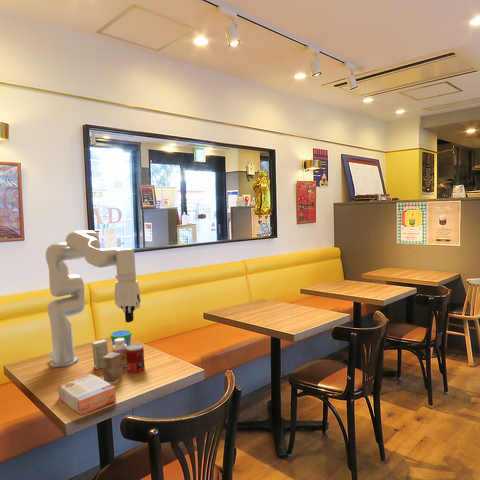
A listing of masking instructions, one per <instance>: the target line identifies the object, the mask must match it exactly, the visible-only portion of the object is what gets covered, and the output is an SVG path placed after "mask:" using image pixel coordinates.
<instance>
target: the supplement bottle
mask: <svg viewBox="0 0 480 480" xmlns="http://www.w3.org/2000/svg"><path fill="white" fill-rule="evenodd" d="M124 342H125V339H124V338H118V339H115V340H114V343H115V345H114V346H113V345H112V352H113V353H121V362H122V369H123V368H127V361H126V347H127V345H126V344H125V343H124Z"/></svg>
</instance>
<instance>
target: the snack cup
mask: <svg viewBox="0 0 480 480" xmlns="http://www.w3.org/2000/svg"><path fill="white" fill-rule="evenodd" d="M131 336H132V331H131V330H127V329H121V330H115V331H113V332H112V333H110V339H111V343H112V347H113V346H114V345H115V343H114V340H115V339H118V338H124V339H125V342H124V343H125V344H126V345H127V346H129V345H131V340H132V339H131Z"/></svg>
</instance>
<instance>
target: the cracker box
mask: <svg viewBox="0 0 480 480" xmlns="http://www.w3.org/2000/svg"><path fill="white" fill-rule="evenodd" d="M57 391H58V392H57V393H58V399H59V400H61V401H62V402H64V403H65V404H66V405H67V406H69V407H70V408H71V409H73V410H74V411H75V412H76V413H78V414H79V415H80V416H83V415H86V414H87V413H89V412H92V411H95V410H96V409H98V408H101V407H102V408H103V406H106V405H107V406H108V405H110V404H111V403H113V402H116V401H117V394H116V386H115V385H113V384H112V383H108V382H106V381H104V379H102V378H101V377H99V376H98V375H95V374H93V373H89V374H85V375H82V376H80V377H77V378H74V379H71V380H68V381H66V382H62V383H60V384H58V385H57Z"/></svg>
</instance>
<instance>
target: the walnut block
mask: <svg viewBox="0 0 480 480" xmlns="http://www.w3.org/2000/svg"><path fill="white" fill-rule="evenodd" d="M102 361H103V368H102V373H103V375H102V376H103V380H104V381H106V382H108V383H109V384H113V383H114V384H115V383H116V382H118V381H120V380H121V379H123V368H122V362H121V353H113V351H112V352H108V354H107V355H106V356H104V357H102Z"/></svg>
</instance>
